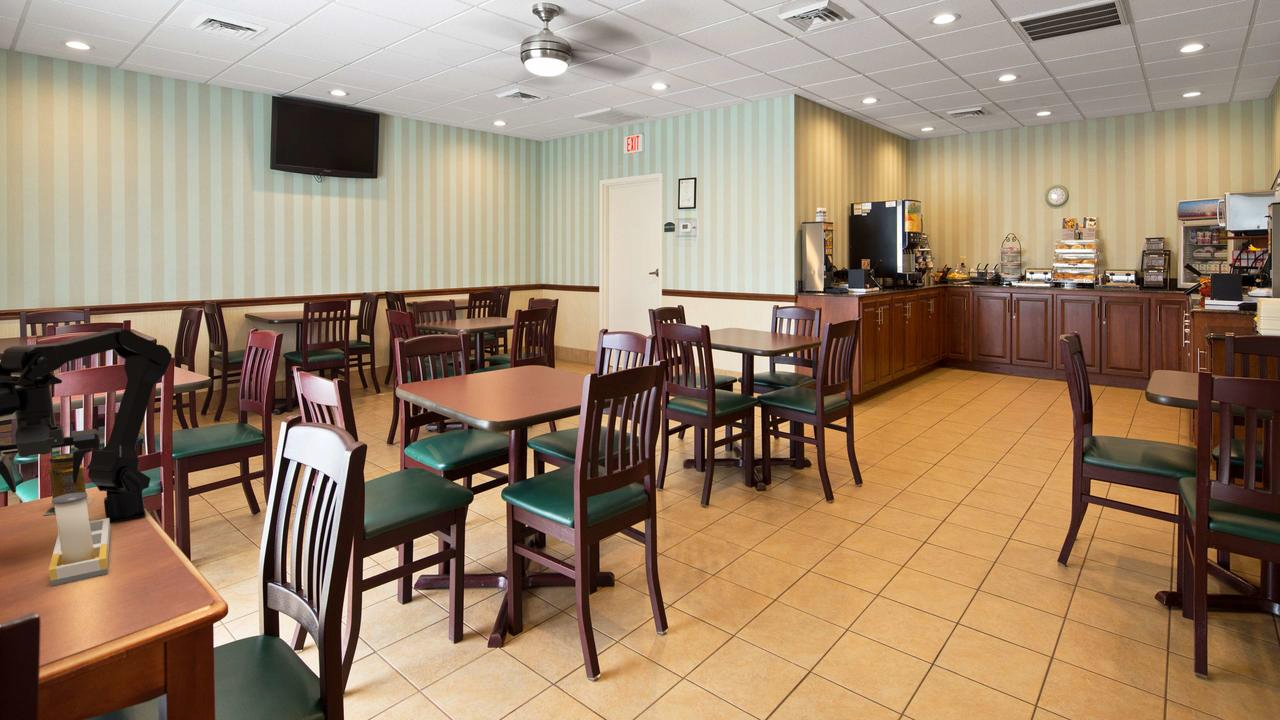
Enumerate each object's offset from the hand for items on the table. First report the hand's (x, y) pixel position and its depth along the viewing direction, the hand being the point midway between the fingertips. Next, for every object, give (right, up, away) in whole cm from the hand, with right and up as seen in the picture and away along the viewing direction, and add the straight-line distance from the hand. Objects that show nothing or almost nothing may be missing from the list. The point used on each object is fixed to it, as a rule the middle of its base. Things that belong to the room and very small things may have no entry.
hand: (45, 487), depth 139 cm
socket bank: (+10, -13, -4) cm, 17 cm away
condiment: (-14, -9, +23) cm, 28 cm away
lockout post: (+15, -12, -10) cm, 22 cm away
